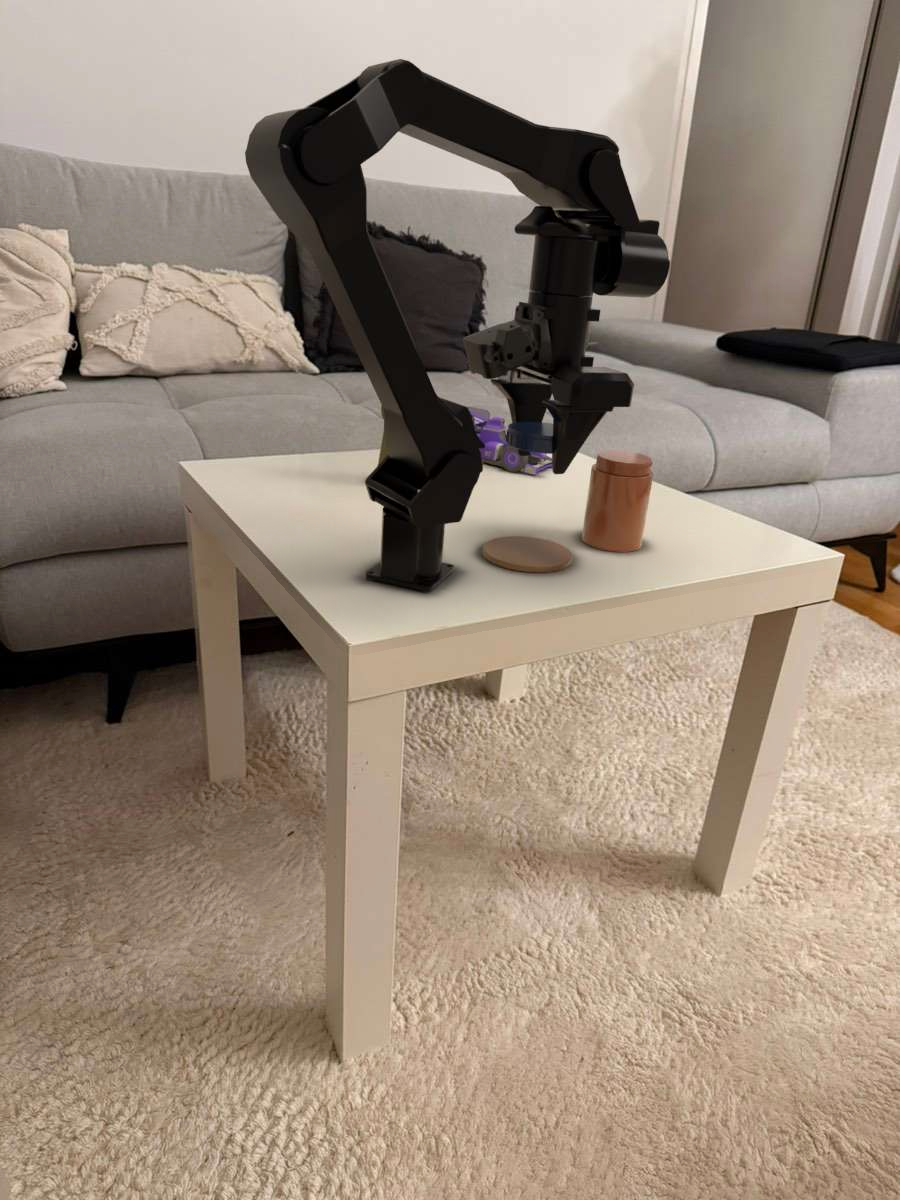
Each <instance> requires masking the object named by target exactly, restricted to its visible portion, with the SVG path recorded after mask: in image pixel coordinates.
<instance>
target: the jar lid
mask: <svg viewBox="0 0 900 1200" xmlns="http://www.w3.org/2000/svg"><path fill="white" fill-rule="evenodd" d="M506 441H507V444H508V445H510V446H512V447H514V448H517V449H521V450H525V451H530V452H537V453H547V454H546V455H549V454H550V455H552V444H553V422H552V423H551V422H543V421H542V422H515V423H512V422H511V423H509V424H508V425H507V429H506Z"/></svg>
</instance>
